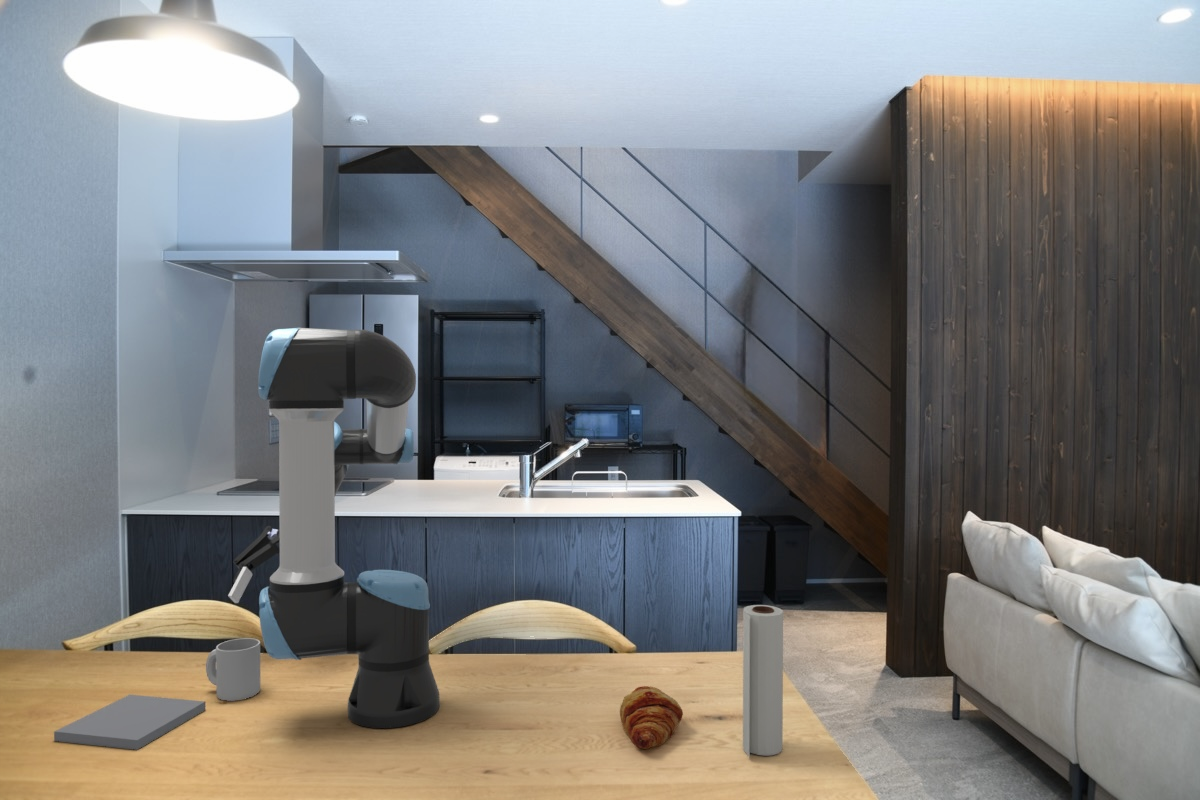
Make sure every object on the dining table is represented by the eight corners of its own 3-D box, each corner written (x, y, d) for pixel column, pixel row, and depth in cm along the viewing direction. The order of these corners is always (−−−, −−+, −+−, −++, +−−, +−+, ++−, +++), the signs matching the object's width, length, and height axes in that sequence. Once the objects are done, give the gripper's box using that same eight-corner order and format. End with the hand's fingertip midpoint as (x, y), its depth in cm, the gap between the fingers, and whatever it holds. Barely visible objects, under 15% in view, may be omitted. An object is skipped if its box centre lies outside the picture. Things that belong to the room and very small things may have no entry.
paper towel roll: (768, 736, 124) (769, 601, 124) (790, 753, 119) (791, 612, 118) (728, 743, 122) (728, 606, 122) (748, 761, 116) (749, 617, 116)
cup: (244, 703, 137) (243, 652, 137) (193, 699, 139) (192, 648, 139) (269, 687, 145) (268, 639, 144) (220, 683, 146) (220, 636, 146)
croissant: (636, 721, 139) (615, 680, 139) (687, 696, 138) (666, 655, 138) (628, 778, 118) (603, 729, 118) (688, 749, 117) (663, 700, 117)
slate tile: (205, 710, 134) (205, 701, 134) (137, 750, 120) (137, 740, 120) (129, 703, 137) (129, 694, 137) (54, 741, 123) (54, 731, 123)
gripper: (368, 523, 166) (331, 615, 152) (263, 519, 171) (216, 607, 157) (355, 502, 161) (315, 594, 146) (247, 498, 166) (197, 587, 151)
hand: (264, 601), depth 151 cm, fingers open, 13 cm apart
